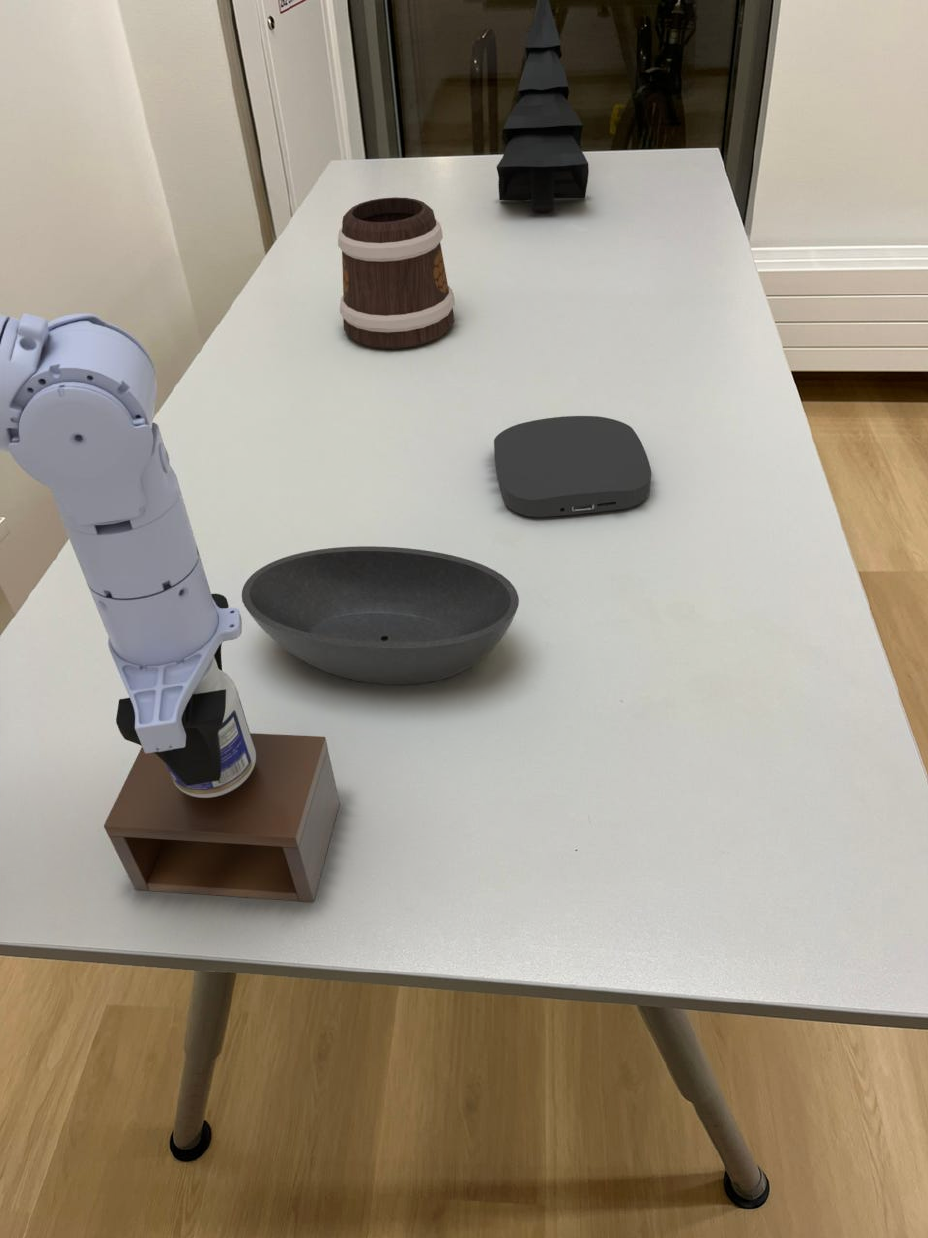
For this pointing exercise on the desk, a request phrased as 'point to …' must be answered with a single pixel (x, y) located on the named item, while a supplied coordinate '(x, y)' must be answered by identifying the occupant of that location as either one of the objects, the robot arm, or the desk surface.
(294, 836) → the shelf
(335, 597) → the bowl
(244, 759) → the pill bottle
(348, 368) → the desk surface
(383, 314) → the mug
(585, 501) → the media streaming box
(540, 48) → the decorative tree
